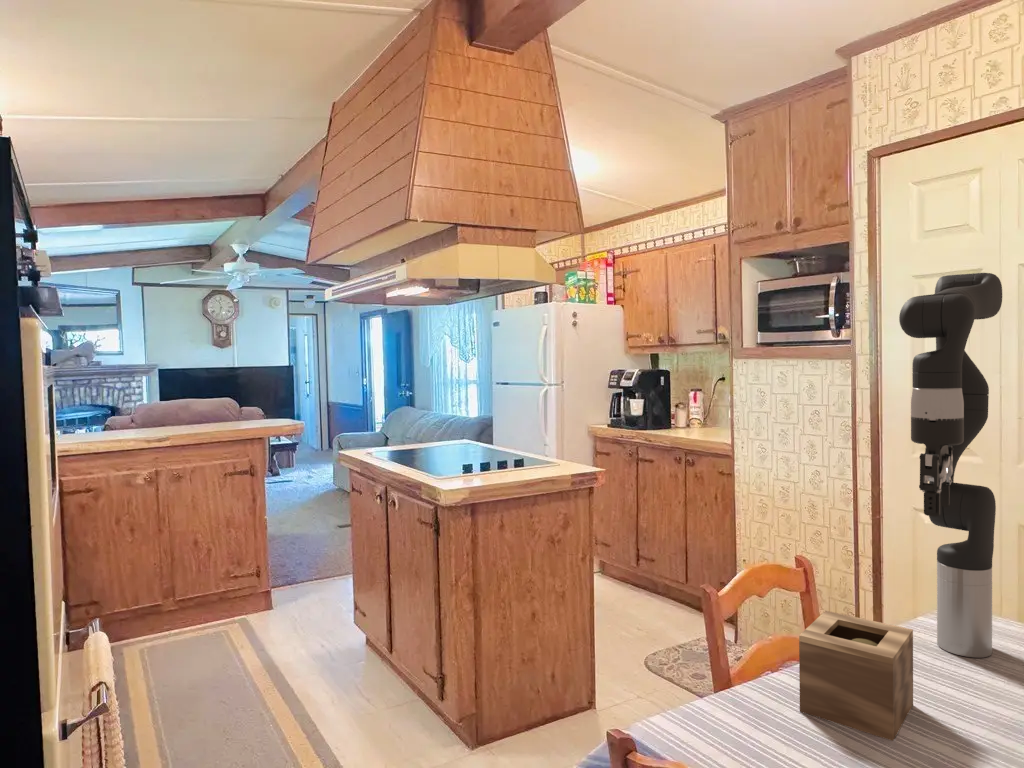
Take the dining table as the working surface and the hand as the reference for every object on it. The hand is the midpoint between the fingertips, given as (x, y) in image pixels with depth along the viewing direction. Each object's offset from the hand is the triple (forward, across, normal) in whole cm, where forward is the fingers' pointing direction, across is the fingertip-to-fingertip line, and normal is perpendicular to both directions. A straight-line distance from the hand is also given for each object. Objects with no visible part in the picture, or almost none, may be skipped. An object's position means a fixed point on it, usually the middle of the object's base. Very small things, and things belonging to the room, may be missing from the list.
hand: (936, 510), depth 114 cm
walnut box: (+33, +10, -10) cm, 36 cm away
